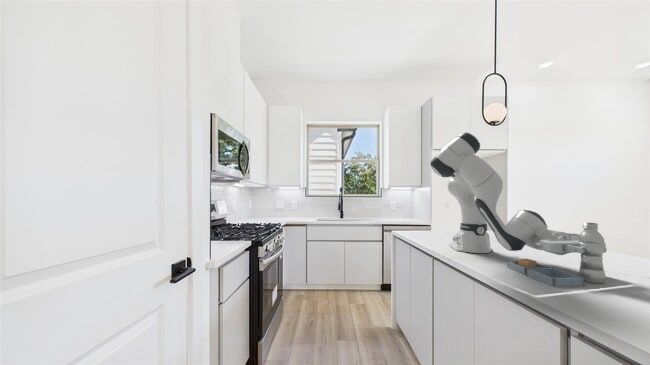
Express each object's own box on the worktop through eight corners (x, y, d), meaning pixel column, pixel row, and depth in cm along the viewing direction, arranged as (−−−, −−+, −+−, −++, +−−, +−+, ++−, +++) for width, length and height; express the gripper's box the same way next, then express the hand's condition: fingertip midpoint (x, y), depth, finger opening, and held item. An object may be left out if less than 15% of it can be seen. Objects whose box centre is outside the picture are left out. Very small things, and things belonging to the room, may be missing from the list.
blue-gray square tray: (507, 269, 110) (507, 261, 110) (529, 268, 110) (529, 260, 110) (525, 276, 101) (525, 267, 101) (549, 275, 101) (549, 267, 101)
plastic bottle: (594, 279, 96) (591, 222, 96) (612, 286, 89) (609, 224, 90) (573, 279, 97) (571, 222, 97) (590, 286, 90) (588, 224, 90)
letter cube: (518, 269, 107) (518, 259, 107) (527, 268, 108) (526, 258, 108) (528, 272, 103) (527, 261, 103) (536, 271, 104) (536, 261, 104)
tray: (526, 277, 99) (526, 268, 99) (554, 276, 100) (553, 268, 100) (553, 288, 88) (553, 278, 88) (584, 287, 88) (584, 277, 89)
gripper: (530, 234, 106) (563, 241, 92) (581, 234, 107) (622, 240, 93) (531, 251, 106) (564, 260, 92) (582, 250, 106) (622, 259, 93)
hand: (593, 250), depth 92 cm, fingers closed on plastic bottle, 6 cm apart
